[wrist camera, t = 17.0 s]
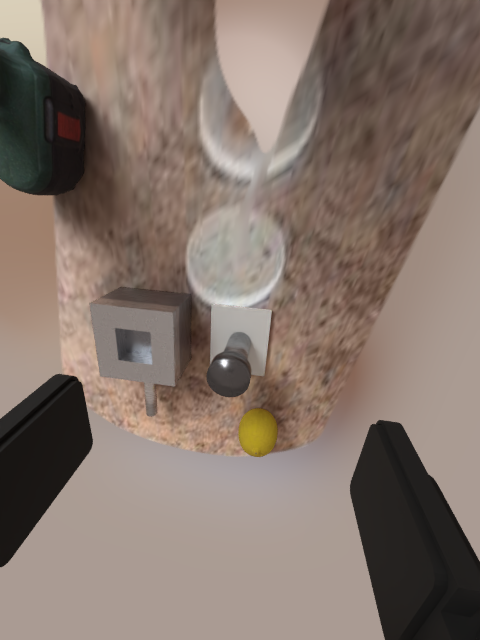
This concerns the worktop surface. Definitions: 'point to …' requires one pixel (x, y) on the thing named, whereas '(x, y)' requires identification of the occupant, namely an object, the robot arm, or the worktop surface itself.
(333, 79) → the worktop surface
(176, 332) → the block
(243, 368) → the dark gray knob
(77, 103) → the power drill
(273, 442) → the lemon
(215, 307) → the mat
